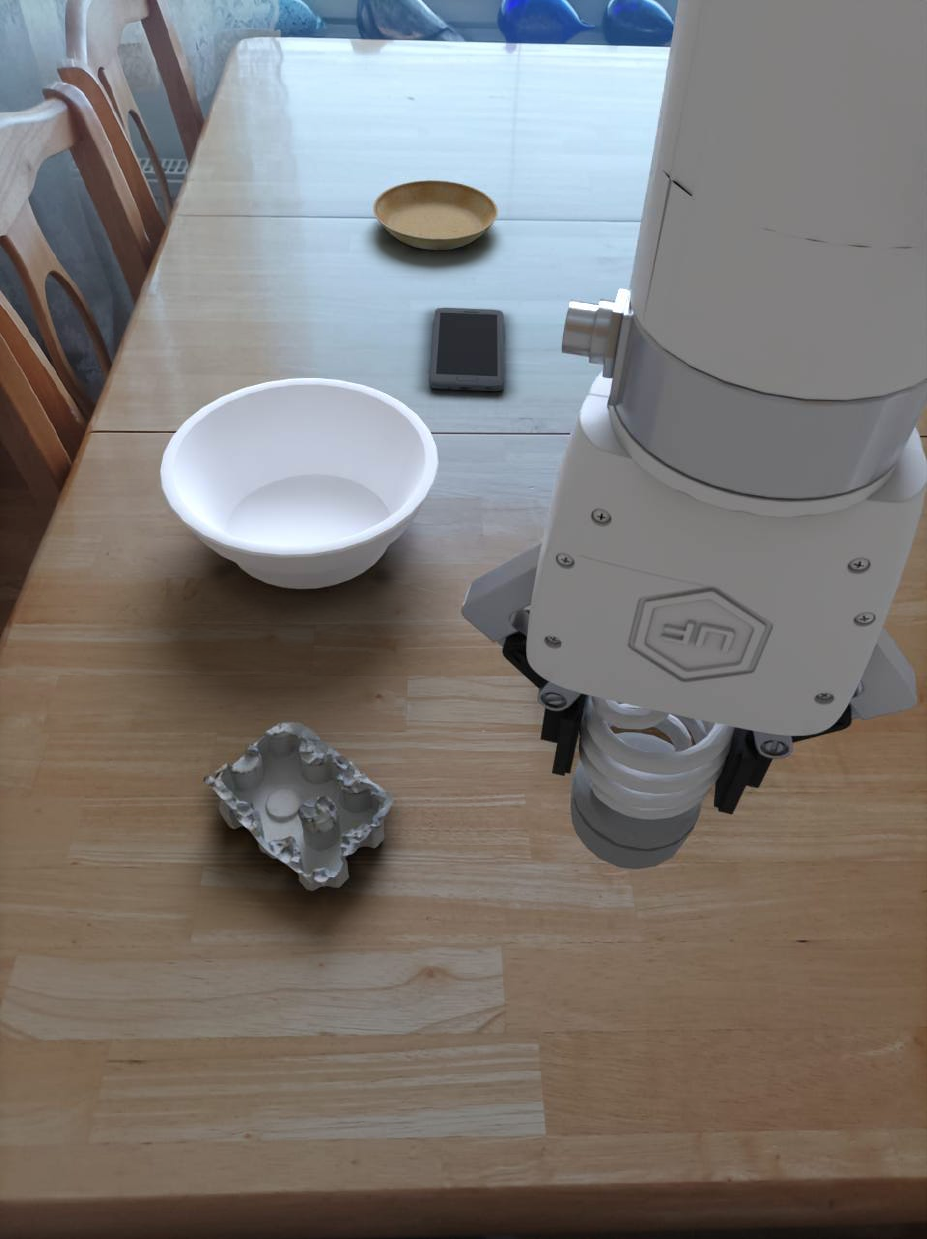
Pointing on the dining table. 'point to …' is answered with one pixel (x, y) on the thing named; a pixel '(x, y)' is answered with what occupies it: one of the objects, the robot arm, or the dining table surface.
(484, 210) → the plant saucer
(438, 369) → the cell phone
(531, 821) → the dining table surface
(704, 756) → the light bulb
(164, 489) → the bowl
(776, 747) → the robot arm
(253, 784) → the egg carton
